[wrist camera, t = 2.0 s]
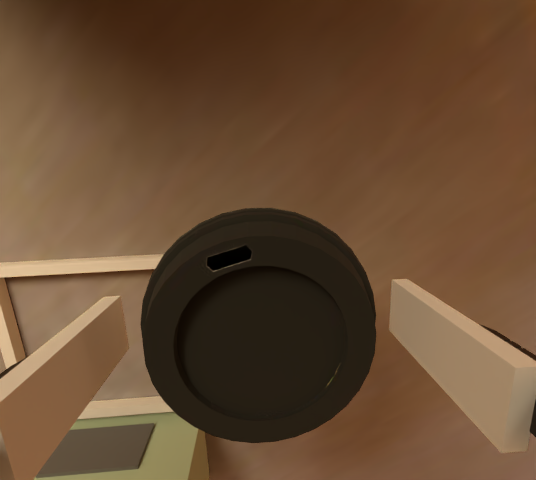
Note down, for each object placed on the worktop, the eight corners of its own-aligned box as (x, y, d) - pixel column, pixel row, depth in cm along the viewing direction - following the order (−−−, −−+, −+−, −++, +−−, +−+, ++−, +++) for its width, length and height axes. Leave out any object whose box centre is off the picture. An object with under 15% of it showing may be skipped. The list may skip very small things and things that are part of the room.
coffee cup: (221, 311, 26) (184, 486, 11) (182, 210, 24) (71, 268, 9) (322, 278, 26) (416, 413, 11) (293, 174, 24) (361, 174, 9)
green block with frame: (-13, 263, 24) (-141, 306, 16) (184, 252, 24) (153, 289, 17) (52, 489, 29) (-20, 602, 22) (209, 474, 30) (195, 579, 22)
